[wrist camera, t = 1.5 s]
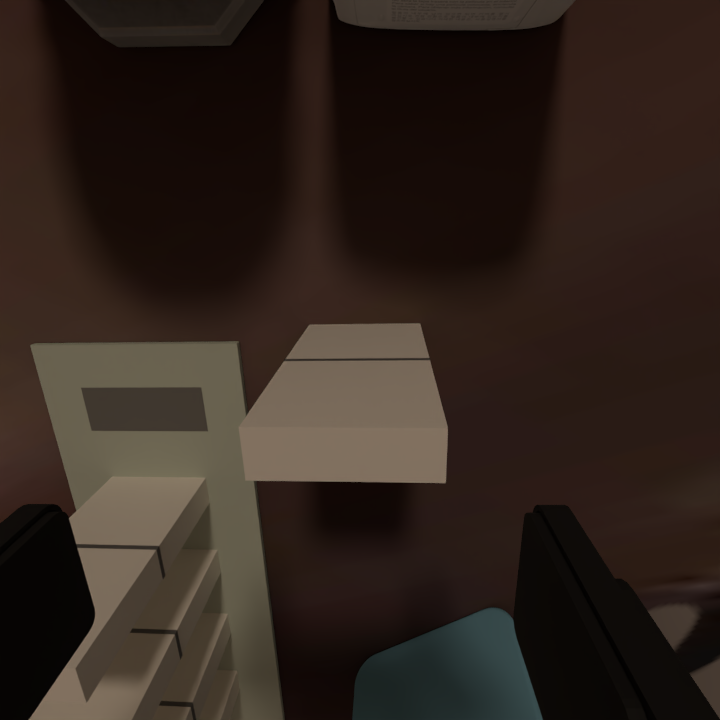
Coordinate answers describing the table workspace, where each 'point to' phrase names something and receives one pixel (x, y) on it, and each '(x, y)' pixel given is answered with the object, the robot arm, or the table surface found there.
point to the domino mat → (175, 469)
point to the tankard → (167, 21)
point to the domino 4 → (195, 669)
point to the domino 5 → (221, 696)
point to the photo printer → (451, 13)
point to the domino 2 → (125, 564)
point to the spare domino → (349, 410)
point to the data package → (450, 675)
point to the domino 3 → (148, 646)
